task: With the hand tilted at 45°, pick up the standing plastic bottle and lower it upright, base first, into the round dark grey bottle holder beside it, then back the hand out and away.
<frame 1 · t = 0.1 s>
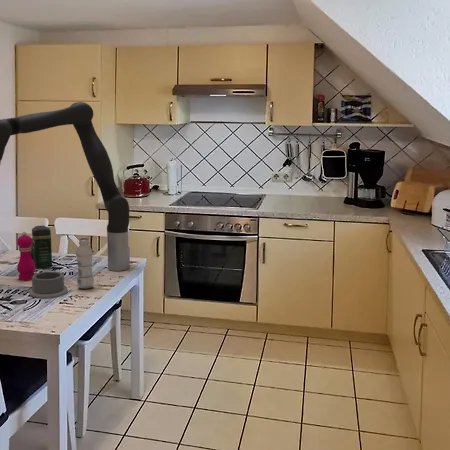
bottle holder: (48, 292, 213), on the table
pepper mill: (26, 278, 230), on the table
decorative stone: (34, 259, 261), on the table
plastic bottle: (85, 288, 219), on the table
coffee jar: (43, 266, 248), on the table
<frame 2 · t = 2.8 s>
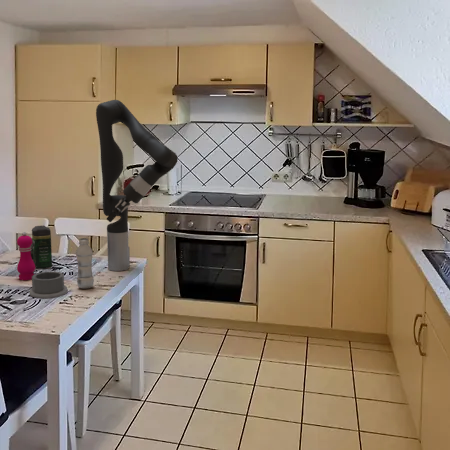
hand: (110, 218, 215), 28 cm above the table, tool tilted 45°, fingers open, 8 cm apart
nothing on the table moved.
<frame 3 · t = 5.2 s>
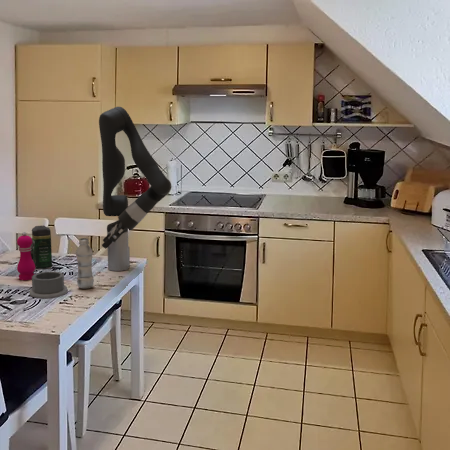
hand: (103, 244, 217), 18 cm above the table, tool tilted 45°, fingers open, 8 cm apart
nothing on the table moved.
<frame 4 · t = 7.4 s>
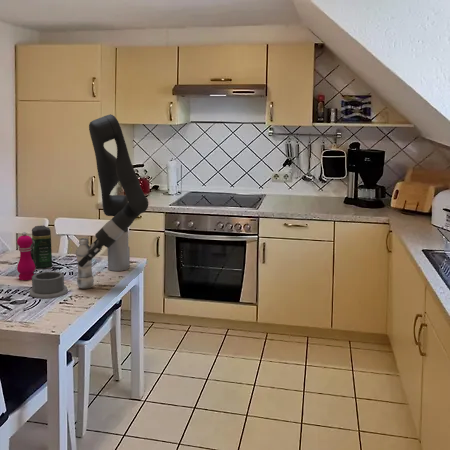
hand: (80, 262, 216), 10 cm above the table, tool tilted 45°, fingers closed on plastic bottle, 6 cm apart
plastic bottle: (85, 288, 219), on the table, touching gripper
everything else where it was.
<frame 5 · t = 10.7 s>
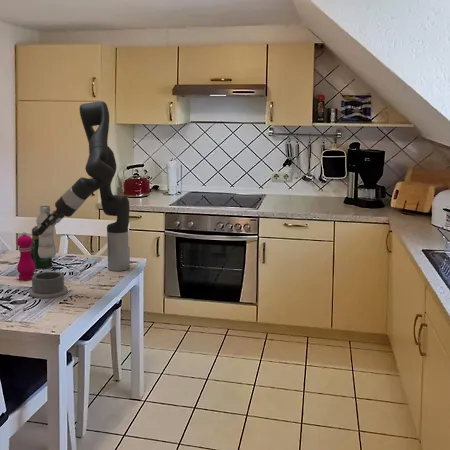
hand: (41, 231, 208), 24 cm above the table, tool tilted 45°, fingers closed on plastic bottle, 6 cm apart
plastic bottle: (47, 258, 210), point 14 cm above the table, touching gripper
everything else where it was.
when the fingers open (13 cm above the table, at t = 14.0 s): plastic bottle moves 1 cm, resting on bottle holder.
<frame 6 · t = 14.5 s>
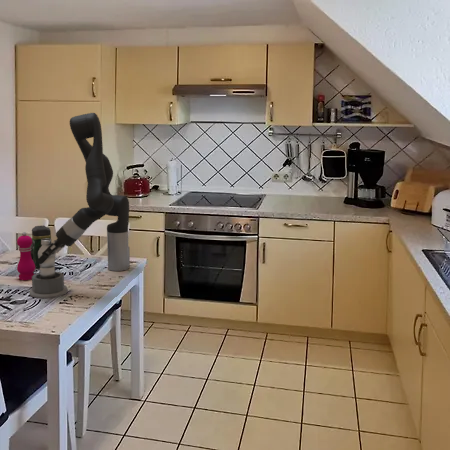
hand: (43, 259, 210), 13 cm above the table, tool tilted 45°, fingers open, 8 cm apart
plastic bottle: (48, 290, 212), point 1 cm above the table, touching bottle holder, gripper
everything else where it was.
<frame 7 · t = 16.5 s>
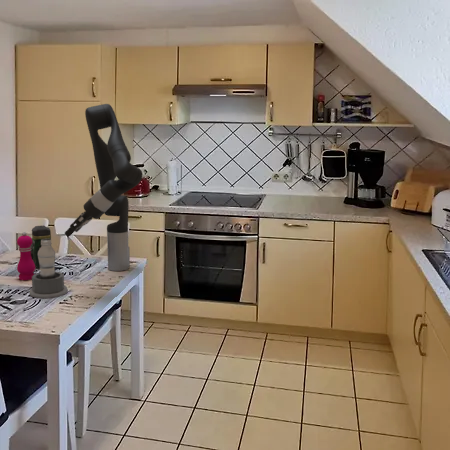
hand: (70, 232, 208), 24 cm above the table, tool tilted 45°, fingers open, 8 cm apart
plastic bottle: (48, 290, 212), point 1 cm above the table, touching bottle holder
everything else where it was.
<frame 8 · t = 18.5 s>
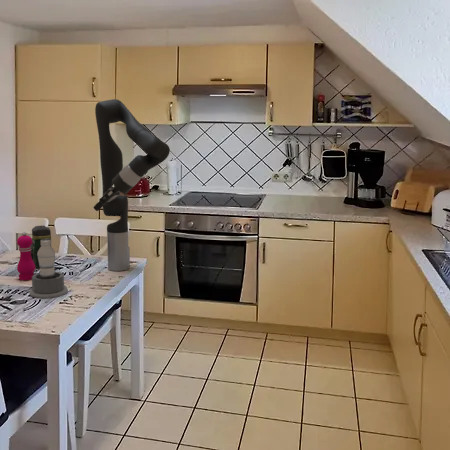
hand: (98, 207, 212), 33 cm above the table, tool tilted 45°, fingers open, 8 cm apart
nothing on the table moved.
at the end: plastic bottle 1.1 cm off-centre on the bottle holder, point 1.0 cm above the bottle holder's base; plastic bottle tilted 0°; the gripper is holding nothing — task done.
